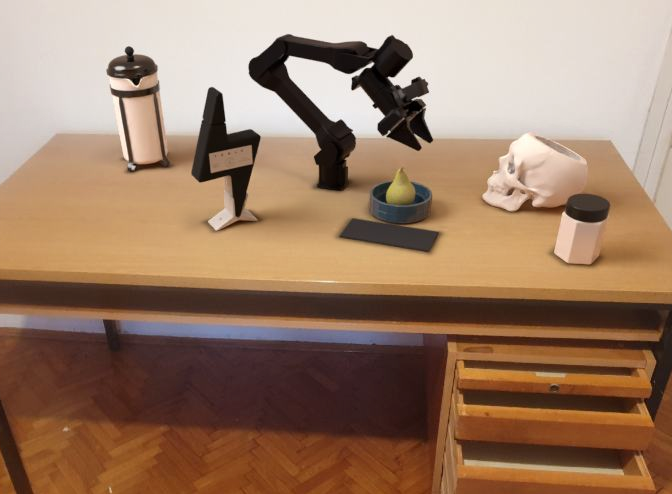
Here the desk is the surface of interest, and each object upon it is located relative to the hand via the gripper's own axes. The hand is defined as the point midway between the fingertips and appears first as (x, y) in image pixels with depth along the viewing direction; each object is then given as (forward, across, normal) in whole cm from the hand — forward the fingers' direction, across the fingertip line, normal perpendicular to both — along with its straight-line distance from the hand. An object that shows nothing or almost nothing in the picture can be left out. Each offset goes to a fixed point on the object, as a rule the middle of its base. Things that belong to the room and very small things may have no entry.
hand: (426, 145), depth 157 cm
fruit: (+7, -2, +14) cm, 16 cm away
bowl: (+7, -2, +14) cm, 16 cm away
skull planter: (+26, +13, -6) cm, 30 cm away
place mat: (+10, -14, +14) cm, 22 cm away
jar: (+38, -8, -12) cm, 41 cm away
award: (-16, -22, +39) cm, 47 cm away
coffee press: (-48, +1, +63) cm, 79 cm away
